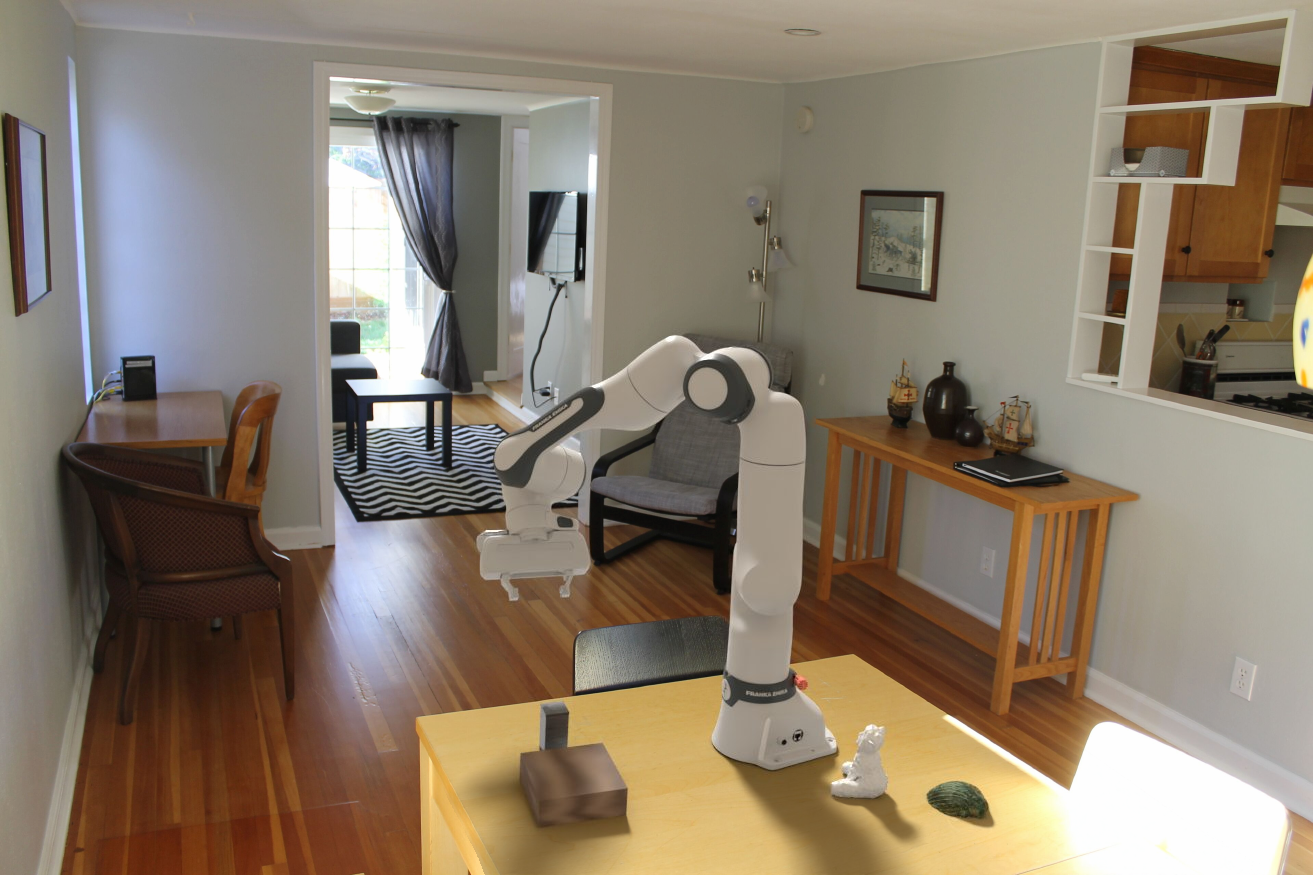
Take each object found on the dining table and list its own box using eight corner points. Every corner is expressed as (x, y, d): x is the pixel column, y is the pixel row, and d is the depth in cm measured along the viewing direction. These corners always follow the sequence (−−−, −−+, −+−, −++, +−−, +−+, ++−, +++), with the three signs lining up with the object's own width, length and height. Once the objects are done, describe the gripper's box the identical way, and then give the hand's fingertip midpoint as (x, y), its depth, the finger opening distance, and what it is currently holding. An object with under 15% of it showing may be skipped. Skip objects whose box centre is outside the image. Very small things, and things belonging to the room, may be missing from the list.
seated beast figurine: (843, 768, 174) (850, 705, 172) (893, 782, 171) (901, 718, 168) (828, 795, 166) (835, 728, 164) (879, 810, 163) (887, 743, 160)
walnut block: (601, 769, 170) (602, 742, 169) (626, 816, 158) (627, 787, 156) (519, 780, 166) (520, 752, 165) (538, 830, 153) (539, 800, 152)
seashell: (961, 760, 172) (1005, 791, 163) (959, 781, 173) (1003, 813, 164) (915, 776, 167) (958, 808, 159) (914, 797, 168) (956, 831, 160)
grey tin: (561, 742, 177) (563, 700, 176) (567, 754, 174) (569, 712, 172) (538, 745, 176) (540, 703, 174) (544, 757, 172) (545, 714, 171)
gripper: (477, 523, 183) (485, 594, 176) (586, 519, 190) (597, 587, 183) (472, 538, 188) (479, 608, 181) (578, 534, 195) (589, 601, 188)
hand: (540, 597), depth 182 cm, fingers open, 8 cm apart
